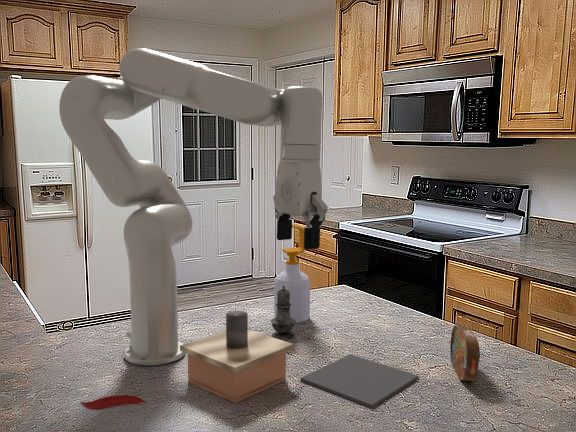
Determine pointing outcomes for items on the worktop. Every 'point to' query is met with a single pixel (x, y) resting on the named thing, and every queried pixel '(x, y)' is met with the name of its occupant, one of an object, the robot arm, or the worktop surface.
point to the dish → (237, 377)
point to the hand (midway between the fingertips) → (297, 243)
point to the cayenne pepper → (112, 401)
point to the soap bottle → (294, 283)
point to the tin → (464, 353)
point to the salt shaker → (283, 317)
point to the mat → (360, 380)
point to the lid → (236, 345)
